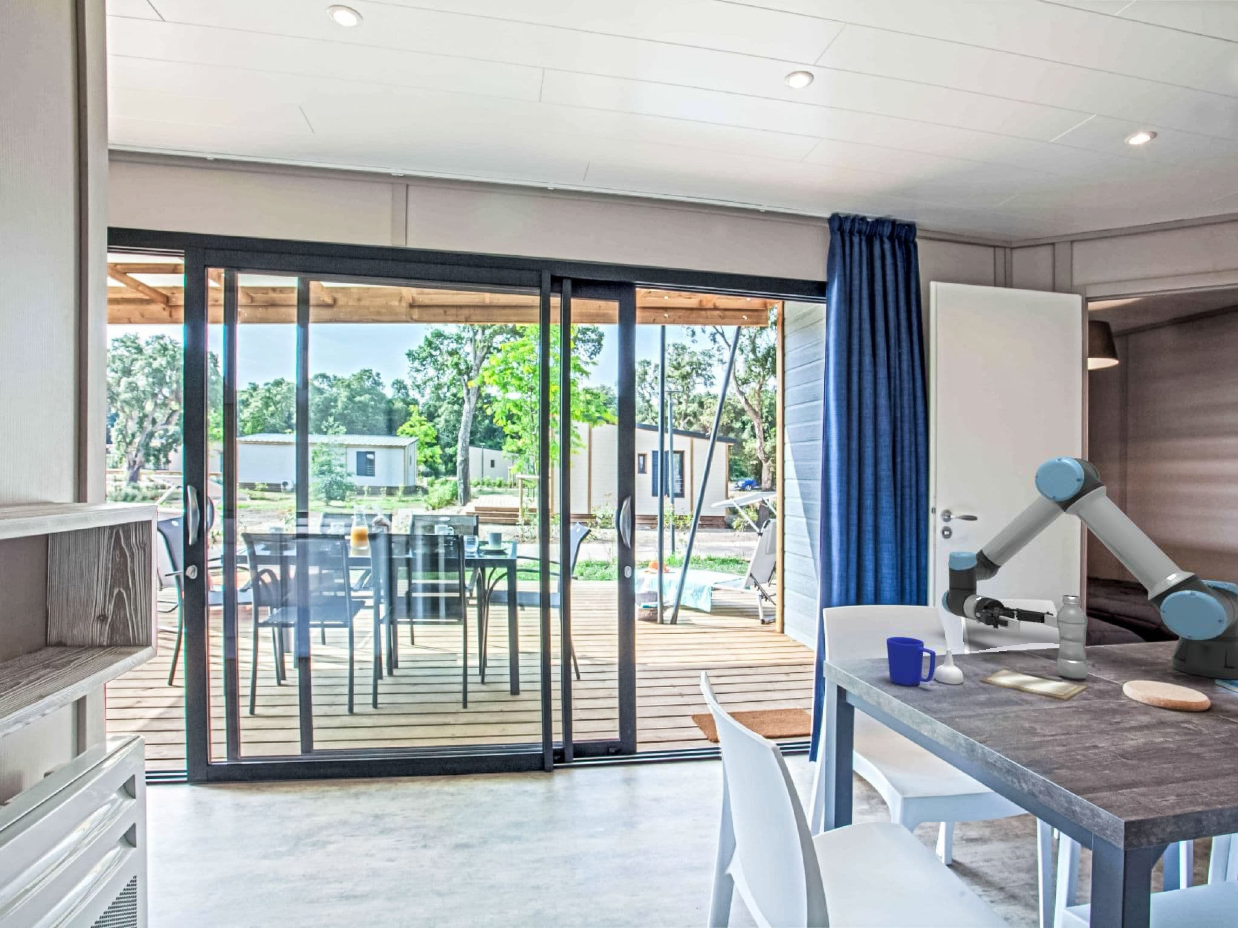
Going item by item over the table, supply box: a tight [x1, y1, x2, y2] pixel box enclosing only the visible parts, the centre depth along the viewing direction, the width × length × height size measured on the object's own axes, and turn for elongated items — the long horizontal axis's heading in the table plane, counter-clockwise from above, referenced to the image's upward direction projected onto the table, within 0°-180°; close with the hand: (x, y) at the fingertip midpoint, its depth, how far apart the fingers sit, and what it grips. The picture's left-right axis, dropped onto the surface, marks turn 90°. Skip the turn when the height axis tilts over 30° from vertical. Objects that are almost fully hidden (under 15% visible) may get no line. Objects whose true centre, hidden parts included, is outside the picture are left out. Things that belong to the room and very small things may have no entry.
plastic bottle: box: [1055, 594, 1089, 680], centre depth 166 cm, size 6×7×20 cm
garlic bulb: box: [933, 648, 964, 685], centre depth 163 cm, size 6×6×8 cm
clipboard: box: [979, 669, 1088, 701], centre depth 160 cm, size 18×14×1 cm
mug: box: [886, 636, 937, 687], centre depth 160 cm, size 8×12×10 cm
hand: (1042, 625), depth 175 cm, fingers open, 13 cm apart
